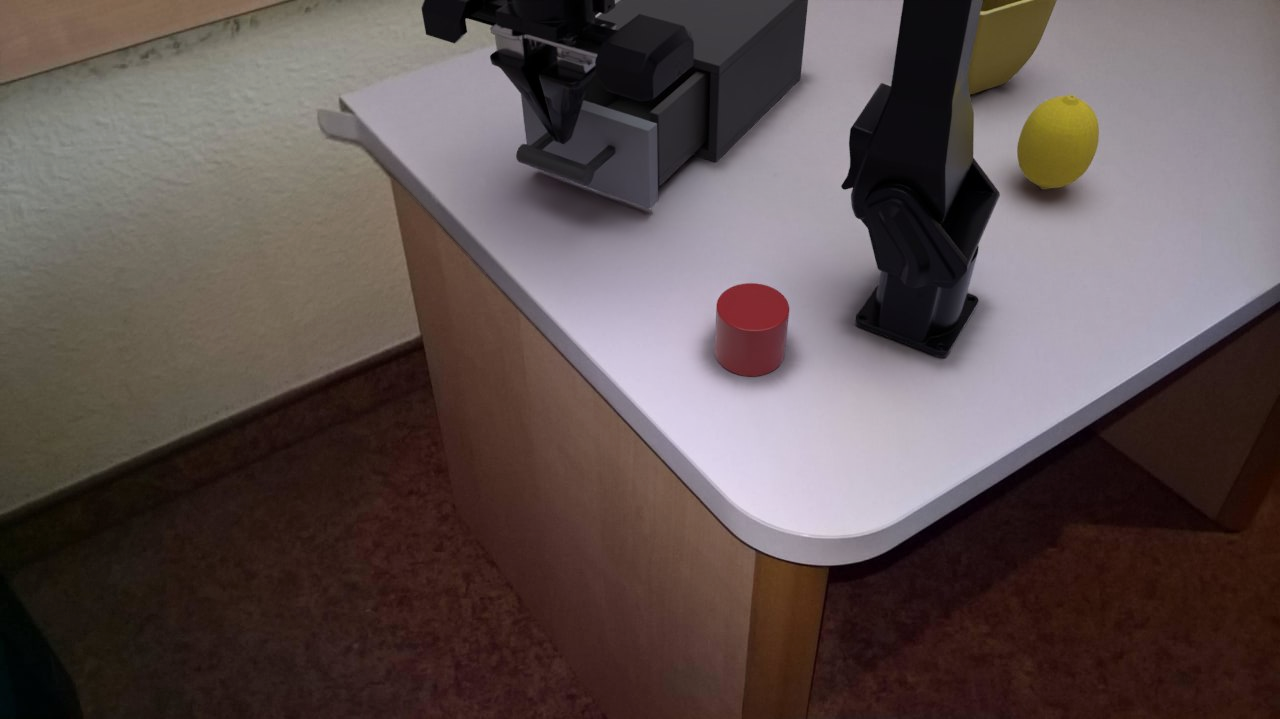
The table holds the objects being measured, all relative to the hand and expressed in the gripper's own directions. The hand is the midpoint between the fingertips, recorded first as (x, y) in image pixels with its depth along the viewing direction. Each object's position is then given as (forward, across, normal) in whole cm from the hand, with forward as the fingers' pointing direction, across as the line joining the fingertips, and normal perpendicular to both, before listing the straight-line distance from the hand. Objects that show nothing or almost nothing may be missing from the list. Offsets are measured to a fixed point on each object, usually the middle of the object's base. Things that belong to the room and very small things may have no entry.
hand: (563, 140), depth 74 cm
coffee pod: (+6, -19, +6) cm, 21 cm away
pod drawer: (+5, 0, -8) cm, 9 cm away
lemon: (+7, -30, -22) cm, 38 cm away
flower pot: (+7, -19, -34) cm, 40 cm away
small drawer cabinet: (+6, 0, -20) cm, 21 cm away
